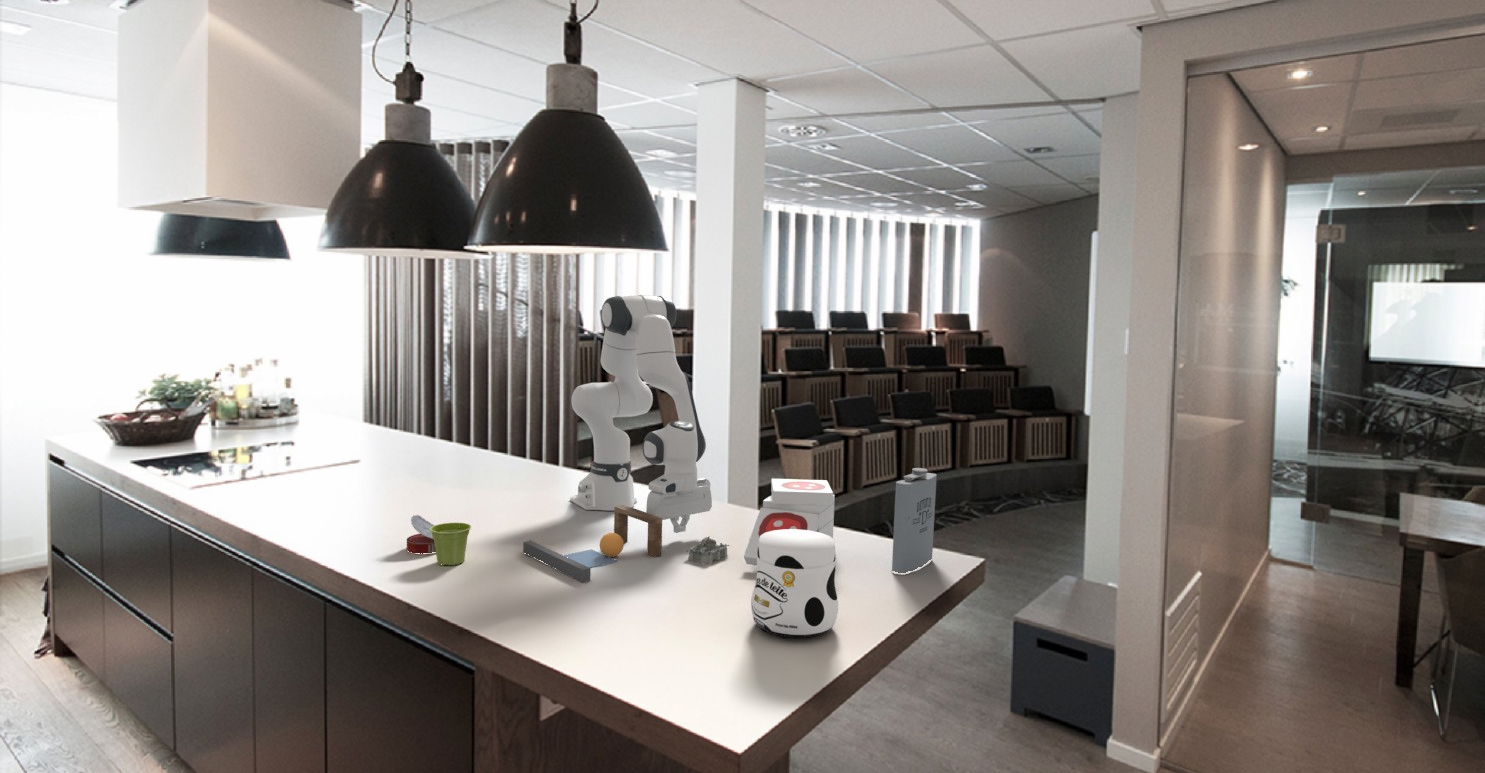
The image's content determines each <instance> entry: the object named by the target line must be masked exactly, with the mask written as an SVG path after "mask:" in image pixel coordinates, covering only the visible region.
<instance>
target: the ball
mask: <svg viewBox="0 0 1485 773" xmlns="http://www.w3.org/2000/svg"><path fill="white" fill-rule="evenodd" d="M624 546H625V545H624V542H623V539H622V537H621V536H620V535H618V534H616V533H614V532H608V533H606V534H604V535H602V537H601V538H600V541H599V550H600V553H601V554H604V555H606V556H608V557H610V558H614V557H616V556H619V555H620V554H621V553H622V551H623V550H624Z"/></svg>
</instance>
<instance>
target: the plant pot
mask: <svg viewBox="0 0 1485 773" xmlns="http://www.w3.org/2000/svg"><path fill="white" fill-rule="evenodd" d="M434 525H435V526H432V527H431V528H430V531H431V532H432V536H433V538H434V543H435V549H436V553H435V555H436V561H437V564H438V565H440V564H442V565H441V566H446V565H447V566H450V565H453V566H456V565H455V564H457V565H460V563H461V564H463V562H465V558H466V551H467V543H468V537H469V534H470V530H471V529H472V525H471V524H469V523H465V522H445V523H438V524H434Z"/></svg>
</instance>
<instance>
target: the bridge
mask: <svg viewBox="0 0 1485 773" xmlns="http://www.w3.org/2000/svg"><path fill="white" fill-rule="evenodd" d="M613 511H614V512H613V523H614V524H613V527H614V528H613V533H616V534H618V535H620V536H621V537H622V539H623V542H624V543H628V540H629V538H628V536H629V533H628V532H629V530H628V529H629V528H628V527H629V517H630V518H633V519H636V520H637V521H642V522H645V523H647V544H646V546H647V552H646V554H647V555H646V556H647V557H649V558H655V557H661V556H662V554H663V552H662V550H663V549H662V547H663V543H662V542H663V520H662V518H661V517H658V516H655V515H652V514H649V513H646V511H643V510H640V509H636V508H634V507H629V506H626V505H620V506H614V510H613Z"/></svg>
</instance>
